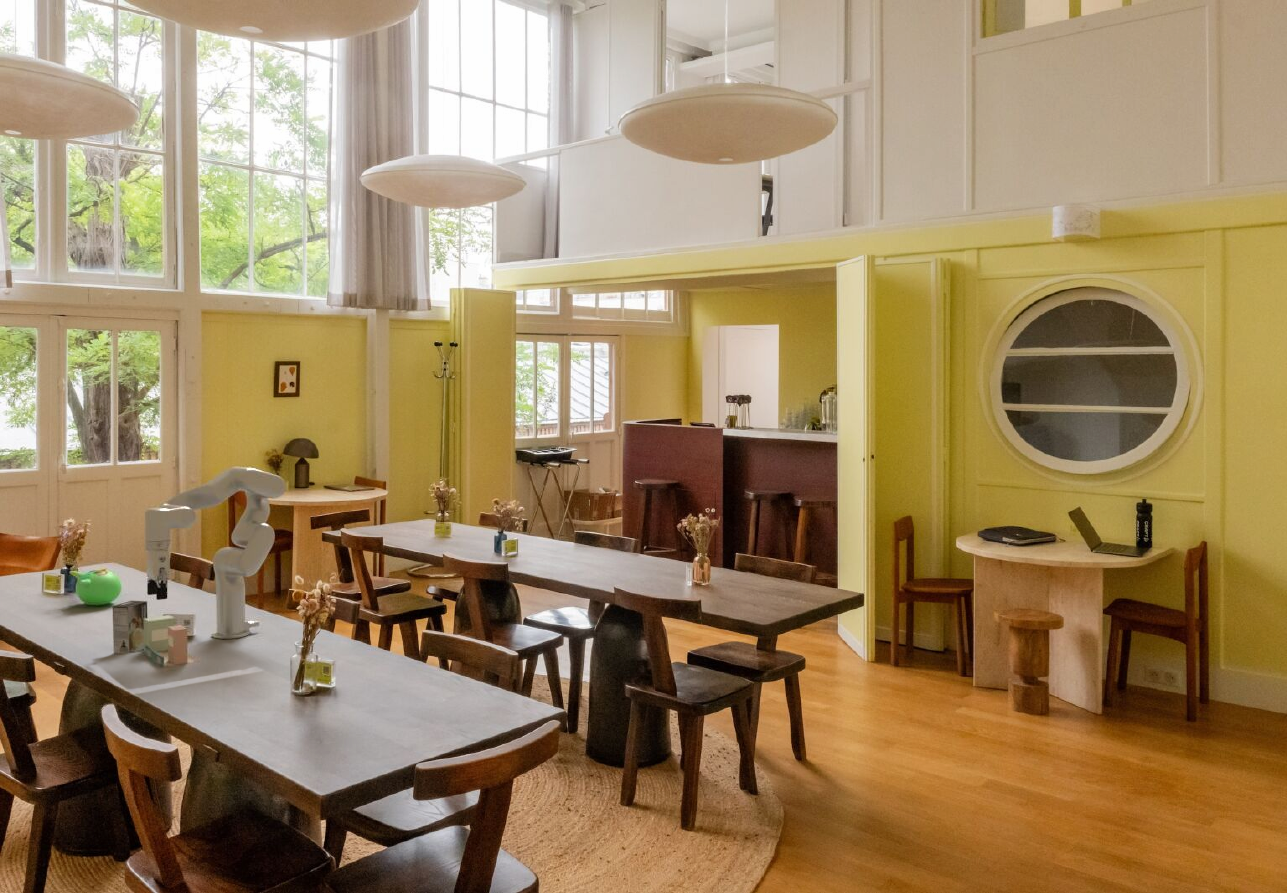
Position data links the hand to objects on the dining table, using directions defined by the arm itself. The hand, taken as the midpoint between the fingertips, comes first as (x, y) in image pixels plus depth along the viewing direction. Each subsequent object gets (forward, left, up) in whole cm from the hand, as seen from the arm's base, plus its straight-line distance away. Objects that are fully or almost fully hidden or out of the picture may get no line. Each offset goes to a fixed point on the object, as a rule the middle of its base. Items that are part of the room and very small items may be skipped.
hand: (157, 596), depth 326 cm
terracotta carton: (0, +19, -18) cm, 26 cm away
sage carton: (0, 0, -19) cm, 19 cm away
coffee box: (+6, -10, -20) cm, 23 cm away
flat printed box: (0, +13, -19) cm, 23 cm away
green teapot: (-3, -90, -20) cm, 92 cm away
